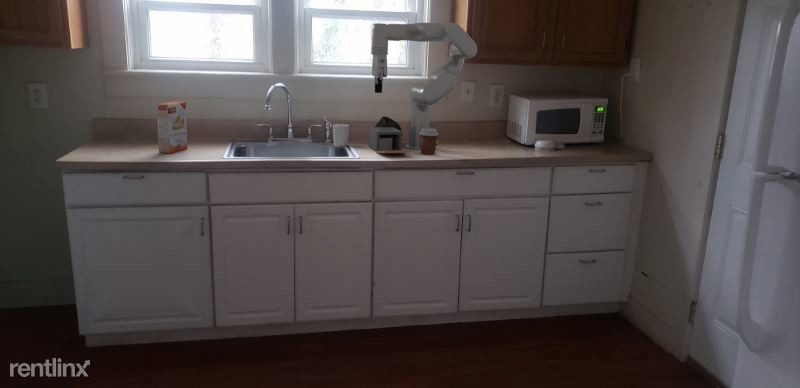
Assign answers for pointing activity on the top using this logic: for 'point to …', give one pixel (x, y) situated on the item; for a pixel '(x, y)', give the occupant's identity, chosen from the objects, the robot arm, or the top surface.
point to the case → (385, 138)
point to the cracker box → (172, 127)
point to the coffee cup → (428, 141)
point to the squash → (388, 123)
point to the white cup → (340, 134)
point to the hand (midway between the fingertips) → (378, 92)
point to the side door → (396, 151)
